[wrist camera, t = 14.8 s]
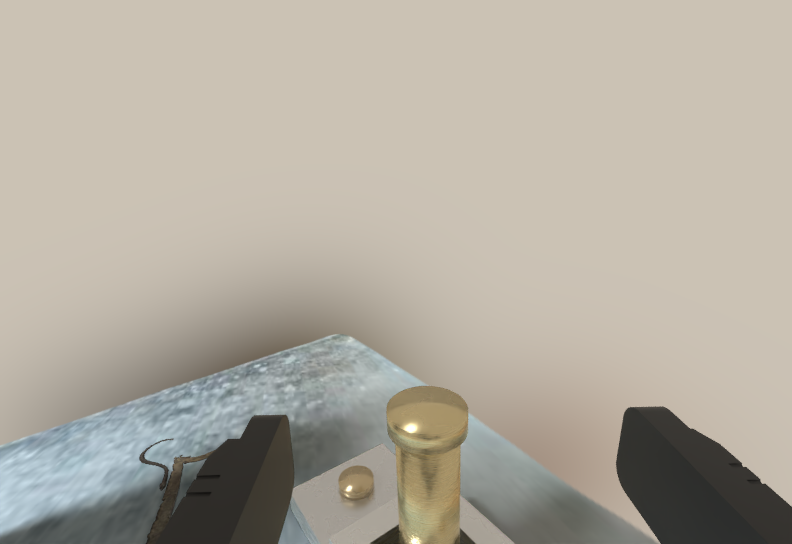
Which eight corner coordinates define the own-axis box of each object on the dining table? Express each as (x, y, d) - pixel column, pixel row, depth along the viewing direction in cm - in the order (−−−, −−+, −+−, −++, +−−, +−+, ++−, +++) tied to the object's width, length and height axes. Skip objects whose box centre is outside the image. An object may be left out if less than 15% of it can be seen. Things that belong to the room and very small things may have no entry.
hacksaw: (198, 710, 21) (193, 690, 20) (-38, 781, 19) (-48, 760, 18) (252, 428, 44) (250, 416, 43) (148, 445, 41) (145, 433, 41)
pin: (384, 621, 24) (372, 422, 21) (411, 557, 28) (405, 380, 24) (454, 655, 22) (454, 443, 19) (473, 582, 26) (476, 394, 23)
